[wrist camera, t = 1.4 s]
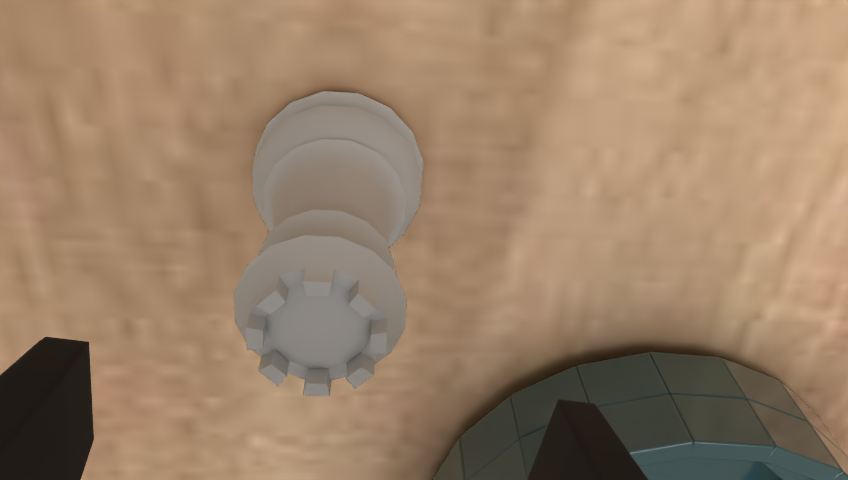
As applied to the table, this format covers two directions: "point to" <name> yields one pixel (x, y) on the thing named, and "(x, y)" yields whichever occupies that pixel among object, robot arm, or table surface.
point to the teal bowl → (662, 423)
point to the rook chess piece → (329, 239)
